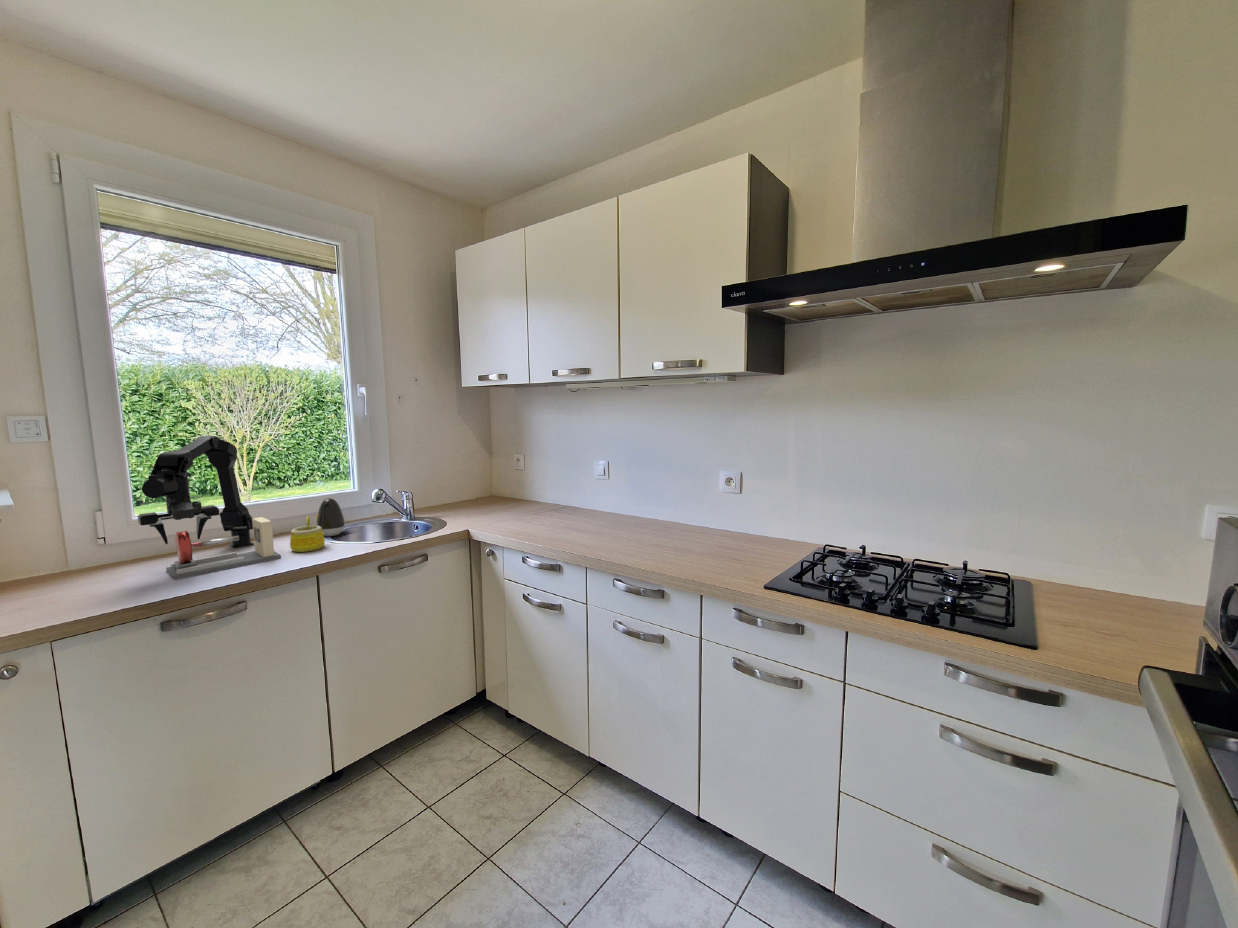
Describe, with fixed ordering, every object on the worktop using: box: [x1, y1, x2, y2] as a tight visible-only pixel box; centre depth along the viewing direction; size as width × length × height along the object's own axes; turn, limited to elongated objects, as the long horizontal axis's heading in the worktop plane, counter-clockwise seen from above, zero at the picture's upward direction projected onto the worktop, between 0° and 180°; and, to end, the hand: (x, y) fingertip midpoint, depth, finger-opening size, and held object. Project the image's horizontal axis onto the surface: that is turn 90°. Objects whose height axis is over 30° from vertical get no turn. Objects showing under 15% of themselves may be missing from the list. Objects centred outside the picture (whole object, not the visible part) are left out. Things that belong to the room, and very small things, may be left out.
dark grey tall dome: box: [315, 497, 346, 537], centre depth 204 cm, size 10×10×15 cm
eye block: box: [165, 516, 282, 581], centre depth 166 cm, size 13×28×13 cm, turn 140°
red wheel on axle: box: [173, 530, 239, 569], centre depth 163 cm, size 10×16×12 cm, turn 140°
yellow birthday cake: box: [289, 513, 325, 553], centre depth 184 cm, size 13×11×12 cm
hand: (182, 541), depth 158 cm, fingers open, 7 cm apart
